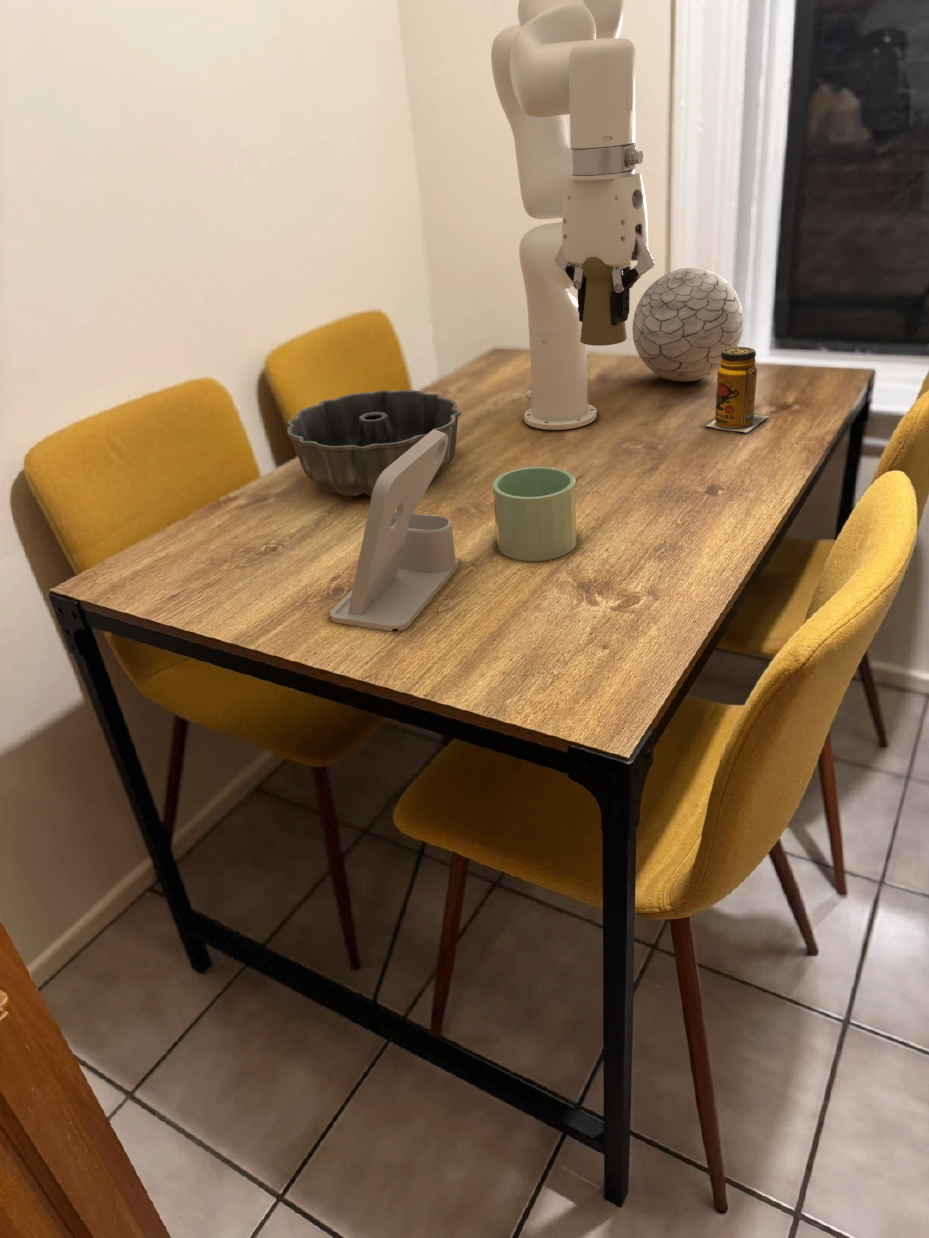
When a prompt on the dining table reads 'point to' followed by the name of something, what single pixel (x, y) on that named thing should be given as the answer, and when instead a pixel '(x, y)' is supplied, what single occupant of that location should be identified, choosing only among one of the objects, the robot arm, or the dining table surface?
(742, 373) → the condiment
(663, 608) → the dining table surface
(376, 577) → the phone holder
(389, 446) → the bundt pan
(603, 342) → the brown game pawn
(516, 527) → the cup
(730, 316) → the decorative sphere
